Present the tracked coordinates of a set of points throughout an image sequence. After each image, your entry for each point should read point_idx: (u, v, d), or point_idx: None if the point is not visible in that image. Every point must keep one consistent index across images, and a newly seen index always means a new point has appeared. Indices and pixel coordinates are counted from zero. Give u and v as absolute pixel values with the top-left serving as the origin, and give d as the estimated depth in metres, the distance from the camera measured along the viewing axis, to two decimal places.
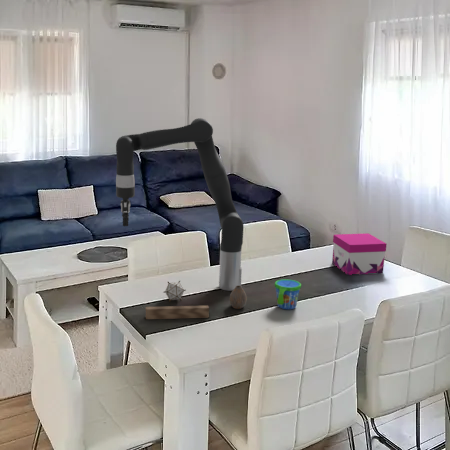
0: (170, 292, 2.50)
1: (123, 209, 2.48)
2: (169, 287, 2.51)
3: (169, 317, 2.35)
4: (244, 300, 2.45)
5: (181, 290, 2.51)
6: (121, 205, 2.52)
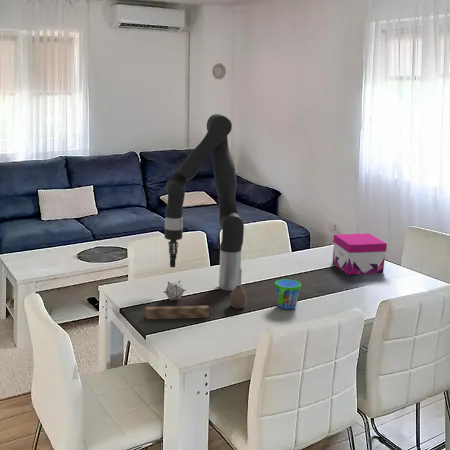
0: (170, 292, 2.50)
1: (171, 255, 2.55)
2: (169, 287, 2.51)
3: (169, 317, 2.35)
4: (244, 300, 2.45)
5: (181, 290, 2.51)
6: (169, 248, 2.58)
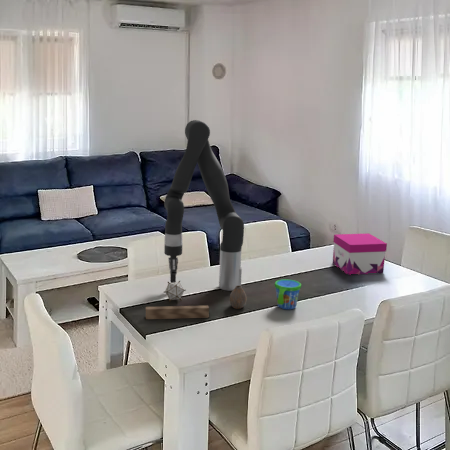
0: (170, 292, 2.50)
1: (172, 271, 2.57)
2: (169, 287, 2.51)
3: (169, 317, 2.35)
4: (244, 300, 2.45)
5: (181, 290, 2.51)
6: (169, 264, 2.59)
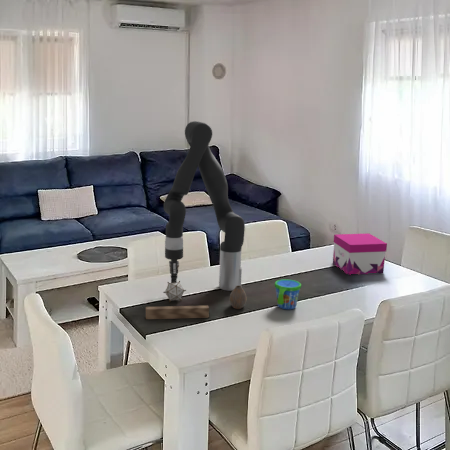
0: (170, 292, 2.49)
1: (172, 274, 2.52)
2: (169, 287, 2.50)
3: (169, 317, 2.35)
4: (244, 300, 2.45)
5: (181, 290, 2.51)
6: (170, 267, 2.54)
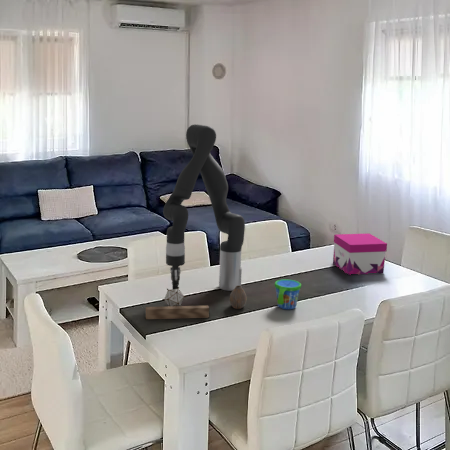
0: (171, 299, 2.42)
1: (174, 281, 2.44)
2: (169, 294, 2.42)
3: (169, 317, 2.35)
4: (244, 300, 2.45)
5: (182, 297, 2.44)
6: (171, 274, 2.46)
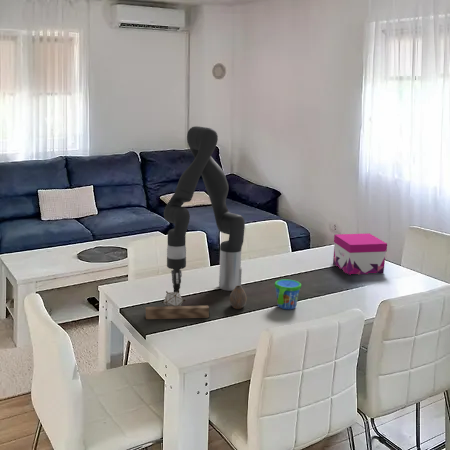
0: (169, 302, 2.38)
1: (175, 285, 2.40)
2: (168, 297, 2.39)
3: (169, 317, 2.35)
4: (244, 300, 2.45)
5: (180, 300, 2.40)
6: (172, 277, 2.42)
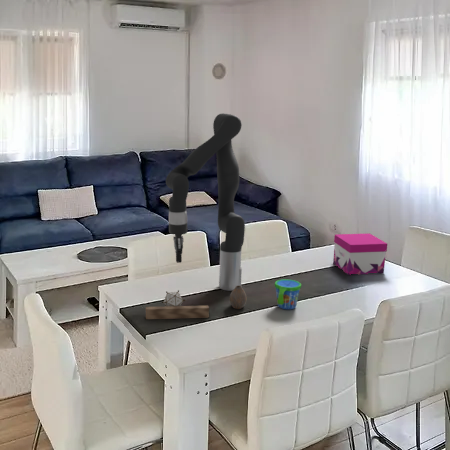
0: (169, 303, 2.38)
1: (177, 250, 2.48)
2: (168, 297, 2.39)
3: (169, 317, 2.35)
4: (244, 300, 2.45)
5: (180, 300, 2.40)
6: (174, 243, 2.51)
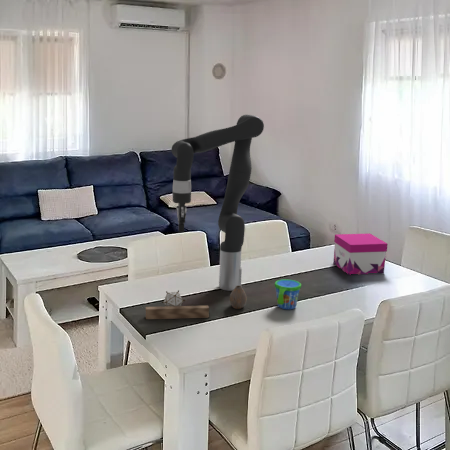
0: (169, 302, 2.38)
1: (180, 218, 2.49)
2: (168, 297, 2.39)
3: (169, 317, 2.35)
4: (244, 300, 2.45)
5: (180, 300, 2.40)
6: (177, 212, 2.51)
